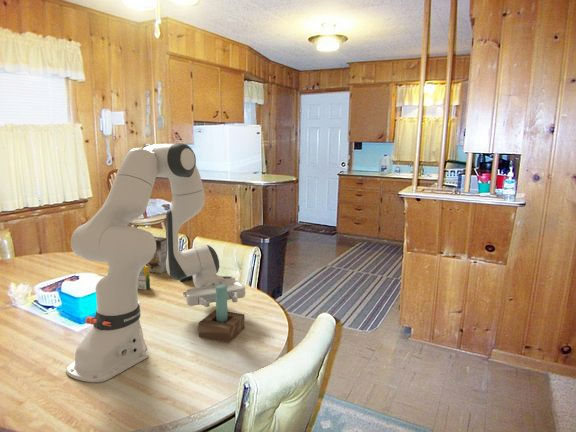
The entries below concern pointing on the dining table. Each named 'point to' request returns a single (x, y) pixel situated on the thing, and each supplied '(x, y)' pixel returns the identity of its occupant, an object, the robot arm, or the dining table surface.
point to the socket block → (221, 327)
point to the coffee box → (159, 257)
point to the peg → (221, 304)
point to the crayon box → (144, 279)
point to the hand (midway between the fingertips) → (221, 302)
